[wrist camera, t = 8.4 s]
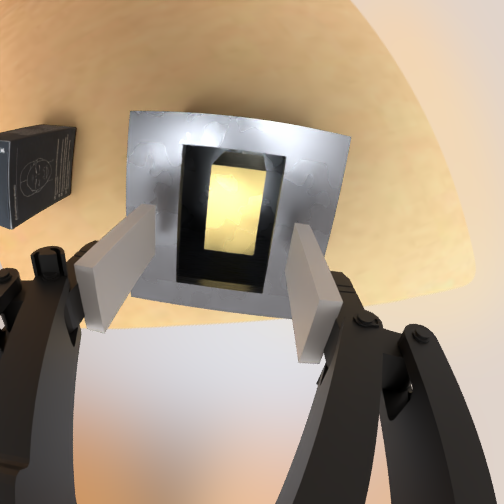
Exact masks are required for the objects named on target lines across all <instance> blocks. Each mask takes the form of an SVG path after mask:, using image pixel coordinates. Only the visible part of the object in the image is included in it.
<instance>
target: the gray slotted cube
mask: <svg viewBox="0 0 504 504" xmlns="http://www.w3.org/2000/svg"><path fill="white" fill-rule="evenodd" d="M350 141H351V137H350V136H345V135H341V134H337V133H332V132H328V131H323V130H318V129H313V128H308V127H303V126H298V125H292V124H286V123H280V122H274V121H267V120H260V119H253V118H245V117H236V116H227V115H216V114H204V113H190V112H169V111H130V119H129V131H128V147H127V172H126V217H127V216H128V215H129V214H130V213H131V212H132V211H134V210H135V209H136V208H137V207H138V206H140V205H141V204H150V205H156V210H155V255H154V256H153V258H152V259H151V261H150V262H149V264H148V265H147V267H146V268H145V270H144V271H143V273H142V274H141V276H140V277H139V279H138V280H137V282H136V284H135V285H134V287H133V288H132V290H131V297H136V298H142V299H147V300H153V301H159V302H165V303H171V304H177V305H184V306H190V307H197V308H204V309H211V310H218V311H225V312H233V313H241V314H249V315H258V316H267V317H276V318H286V319H292V314H291V307H290V301H289V295H288V288H287V282H286V276H285V267H286V263H287V258H288V253H289V249H290V244H291V239H292V234H293V229H294V224H295V223H300V224H307V225H310V227H311V229H312V231H313V233H314V236H315V238H316V240H317V242H318V245H319V247H320V249H321V251H322V254H323V256H325V252H326V248H327V244H328V241H329V237H330V233H331V229H332V224H333V220H334V216H335V212H336V208H337V203H338V199H339V194H340V190H341V185H342V181H343V176H344V171H345V166H346V161H347V156H348V151H349V146H350ZM224 151H226V152H235V153H243V154H251V155H258V156H263V157H264V162H265V167H266V177H265V184H264V190H263V197H262V203H261V210H260V216H259V223H258V229H257V235H256V242H255V248H254V255H245V254H238V253H230V252H222V251H214V250H207V249H204V244H205V231H206V219H207V208H208V197H209V187H210V177H211V167H212V164H213V163H214V162H215V161H216V160H217V159H218V158H219V157H220V156H221V154H222V153H223V152H224Z"/></svg>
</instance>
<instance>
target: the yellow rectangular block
mask: <svg viewBox="0 0 504 504" xmlns="http://www.w3.org/2000/svg"><path fill="white" fill-rule="evenodd" d="M265 177H266V167H265V162H264V157H263V156H258V155H251V154H243V153H235V152H226V151H224V152H223V153H222V154H221V156H220V157H219V158H218V159H217V160H216V161H215V162H214V163H213V164H212V167H211V177H210V187H209V197H208V208H207V219H206V231H205V244H204V249H207V250H214V251H222V252H230V253H238V254H245V255H254V248H255V242H256V235H257V229H258V223H259V216H260V210H261V203H262V197H263V190H264V184H265Z"/></svg>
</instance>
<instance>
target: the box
mask: <svg viewBox="0 0 504 504" xmlns="http://www.w3.org/2000/svg"><path fill="white" fill-rule="evenodd" d="M75 132H76V128H75V127H66V126H54V125H35V126H30V127H24V128H19V129H15V130H10V131H6V132H2V133H0V226H2V227H5V228H8V229H14V228H15V227H17V226H18V225H20V224H22V223H23V222H25V221H26V220H28V219H29V218H31V217H33V216H34V215H36V214H37V213H39V212H41V211H42V210H44V209H46V208H47V207H49V206H51V205H53V204H54V203H56V202H58V201H60V200H61V199H63V198H65V197H67V196H69V195H70V191H71V172H72V160H73V149H74V140H75Z"/></svg>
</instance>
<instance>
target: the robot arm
mask: <svg viewBox="0 0 504 504" xmlns="http://www.w3.org/2000/svg"><path fill="white" fill-rule="evenodd" d="M155 210H156V205H150V204H141V205H140V206H138V207H137V208H136V209H135V210H134V211H132V212H131V213H130V214H129V215H128V216H127V217H125V218H124V219H123V220H122V221H121V222H120V223H118V224H117V225H116V226H115V227H114V228H113V229H112V230H110V231H109V232H108V233H107V234H106V235H105V236H104V237H103V238H102V239H100V240H99V241H93V242H90V243H88V244H86V245H85V246H84V247H82V248H81V249H80V250H79V252H77V253H76V254H75V255H74V256H73V257H71V258H70V259H69V260H68V261H67V262H66V259H65V253H64V250H63V249H62V248H60V247H58V246H48V247H43V248H40V249H38V250H36V251H34V252H33V253H32V254H31V260H32V265H33V269H34V274H35V278H34V280H31V281H21V279H20V275H19V272H18V271H17V270H16V269H14V268H5V269H1V270H0V315H1V316H2V320H3V322H4V325H5V326H4V328H3V329H2V330H1V329H0V504H77V503H76V498H75V487H74V471H73V410H74V409H73V408H74V393H75V380H76V371H77V362H78V354H79V347H80V340H81V328H80V325H79V324H80V322H81V321H82V320H83V318H85V322H86V326H87V329H89V330H93V331H97V332H101V333H105V332H106V330H107V329H108V327H109V325H110V324H111V322H112V320H113V319H114V317H115V315H116V314H117V312H118V310H119V309H120V307H121V306H122V304H123V302H124V301H125V299H126V298H127V296H128V294H129V293H130V291H131V290H132V288H133V287H134V285H135V284H136V282H137V280H138V279H139V277H140V276H141V274H142V273H143V271H144V270H145V268H146V267H147V265H148V264H149V262H150V261H151V259H152V258H153V256H154V255H155ZM285 276H286V282H287V288H288V295H289V301H290V307H291V314H292V321H293V327H294V334H295V340H296V348H297V355H298V362H299V363H312V364H319V363H320V361H321V358H322V356H323V353H324V355H325V359H326V363H325V366H324V368H323V370H322V372H321V375H320V377H319V379H318V381H317V385H318V388H317V391H316V394H315V398H314V401H313V404H312V407H311V410H310V413H309V417H308V419H307V422H306V425H305V428H304V431H303V434H302V437H301V440H300V443H299V446H298V448H297V451H296V454H295V456H294V459H293V462H292V464H291V467H290V470H289V472H288V475H287V477H286V480H285V482H284V485H283V487H282V490H281V492H280V494H279V497H278V499H277V501H276V504H365V501H366V496H367V492H368V486H369V481H370V476H371V471H372V465H373V458H374V452H375V445H376V437H377V429H378V420H379V415H380V421H381V426H382V432H383V439H384V445H385V452H386V459H387V466H388V475H389V484H390V493H391V504H497V502H496V497H495V493H494V489H493V484H492V481H491V477H490V473H489V469H488V466H487V462H486V459H485V455H484V452H483V449H482V446H481V443H480V440H479V437H478V434H477V431H476V428H475V425H474V423H473V420H472V417H471V415H470V412H469V409H468V407H467V405H466V402H465V399H464V397H463V394H462V392H461V390H460V387H459V385H458V383H457V381H456V378H455V376H454V374H453V371H452V369H451V367H450V365H449V363H448V361H447V358H446V356H445V354H444V352H443V350H442V348H441V346H440V344H439V342H438V340H437V338H436V336H435V335H434V334H433V332H431V331H430V330H429V329H428V328H426V327H424V326H422V325H418V324H409V325H407V326H406V327H405V329H404V331H403V333H402V334H401V333H397V332H393V331H389V330H386V329H384V328H383V325H382V322H381V320H380V319H379V318H378V317H377V316H376V315H374V314H373V313H371V312H369V311H367V310H364V308H363V306H362V303H361V301H360V299H359V297H358V295H357V294H356V291H355V289H354V288H353V285H352V283H351V281H350V279H349V278H348V277H346V276H345V275H344V274H343V273H342V272H335V271H330V270H329V267H328V265H327V263H326V260H325V258H324V256H323V254H322V251H321V249H320V247H319V245H318V242H317V240H316V238H315V236H314V233H313V231H312V229H311V227H310V225H307V224H300V223H295V224H294V229H293V234H292V239H291V244H290V249H289V253H288V258H287V263H286V267H285ZM411 384H412V387H411ZM412 388H413V390H412Z"/></svg>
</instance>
